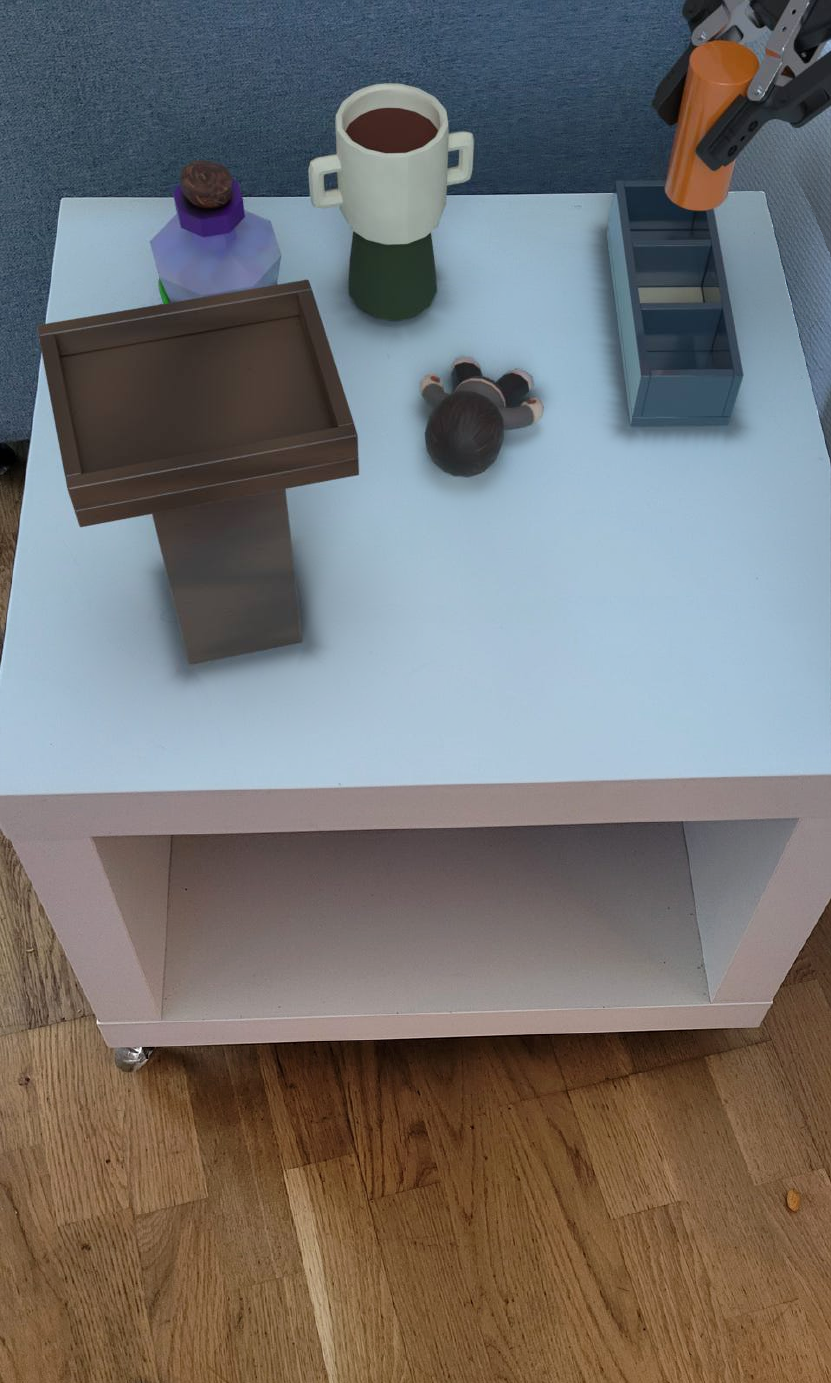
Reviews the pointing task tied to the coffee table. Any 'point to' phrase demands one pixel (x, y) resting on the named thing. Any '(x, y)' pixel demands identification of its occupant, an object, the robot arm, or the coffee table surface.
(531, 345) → the coffee table surface
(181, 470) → the walnut tray stand
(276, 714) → the coffee table surface
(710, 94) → the orange glossy cylinder
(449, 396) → the figurine
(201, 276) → the potion bottle
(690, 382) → the three-compartment dish
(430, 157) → the character mug
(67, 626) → the coffee table surface
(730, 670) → the coffee table surface
